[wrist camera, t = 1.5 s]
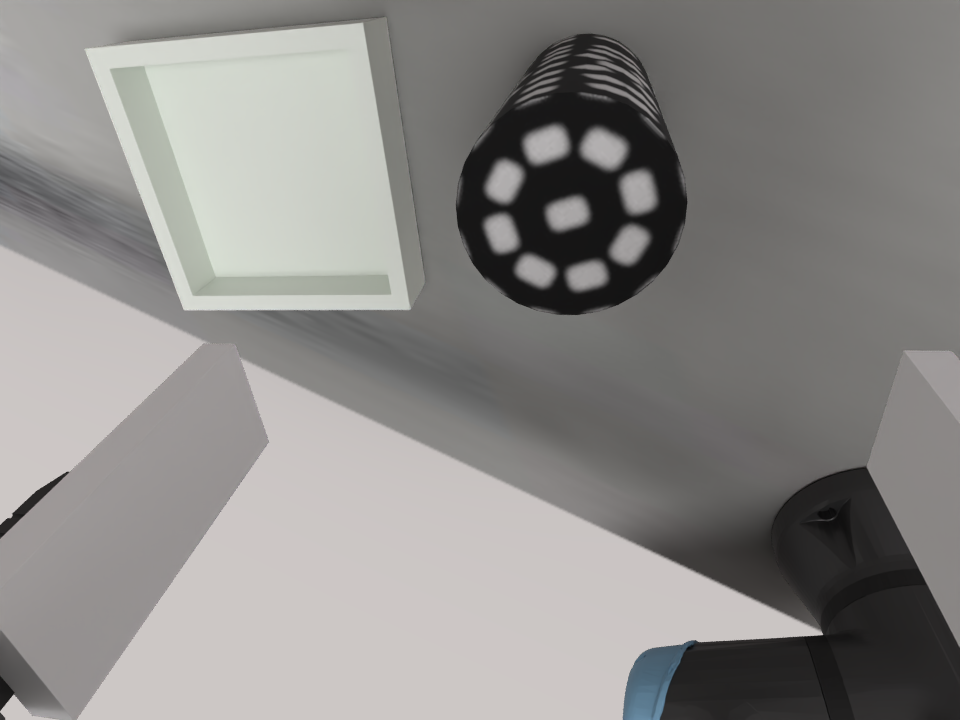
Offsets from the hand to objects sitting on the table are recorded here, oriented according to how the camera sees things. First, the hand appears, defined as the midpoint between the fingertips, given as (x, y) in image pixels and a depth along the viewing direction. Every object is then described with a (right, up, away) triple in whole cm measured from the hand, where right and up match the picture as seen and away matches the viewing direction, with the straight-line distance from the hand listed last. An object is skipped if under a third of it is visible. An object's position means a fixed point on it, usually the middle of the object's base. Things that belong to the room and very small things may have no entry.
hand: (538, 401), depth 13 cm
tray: (-15, +15, +32) cm, 38 cm away
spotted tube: (+5, +17, +27) cm, 32 cm away
